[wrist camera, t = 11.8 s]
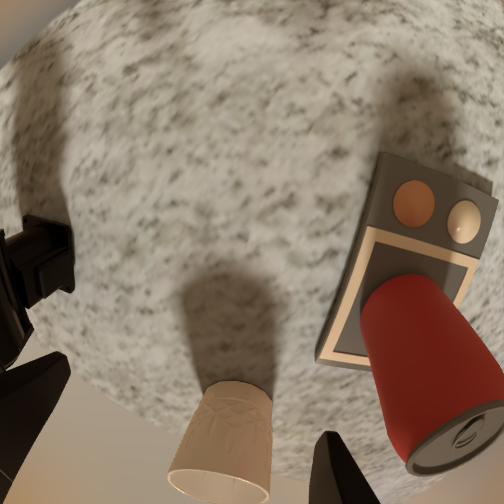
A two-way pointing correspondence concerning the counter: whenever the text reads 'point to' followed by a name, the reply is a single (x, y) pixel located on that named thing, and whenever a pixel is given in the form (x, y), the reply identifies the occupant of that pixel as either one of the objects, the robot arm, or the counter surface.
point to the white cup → (227, 447)
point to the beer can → (431, 376)
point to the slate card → (407, 247)
